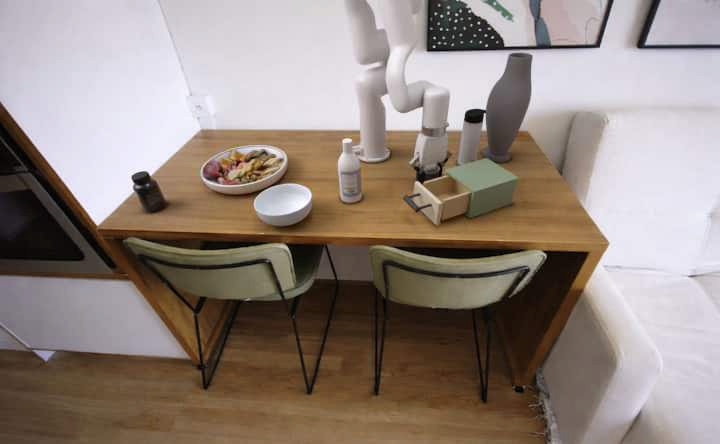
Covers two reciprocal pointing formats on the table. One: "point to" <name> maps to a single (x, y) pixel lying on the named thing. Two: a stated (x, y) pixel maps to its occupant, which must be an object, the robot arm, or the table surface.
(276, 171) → the bowl
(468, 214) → the cabinet
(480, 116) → the travel mug
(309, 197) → the cereal bowl
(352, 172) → the bath foam
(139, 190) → the supplement bottle
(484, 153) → the vase
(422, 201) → the drawer
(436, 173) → the tin
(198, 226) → the table surface
